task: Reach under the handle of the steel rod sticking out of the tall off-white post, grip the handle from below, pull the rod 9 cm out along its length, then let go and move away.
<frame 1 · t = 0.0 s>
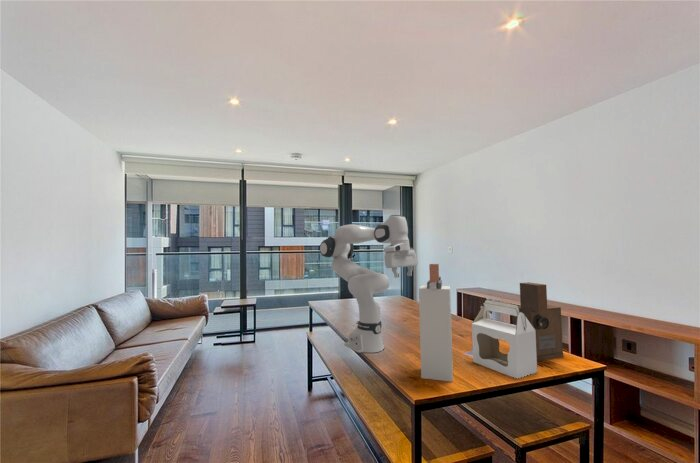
hand: (403, 276, 150), 39 cm above the table, tool pointing down, fingers open, 8 cm apart
rod: (434, 275, 133), point 41 cm above the table, slide at 0.0 cm
mobile phone: (479, 353, 156), on the table
vintage camera: (538, 357, 149), on the table
rod post: (437, 374, 130), on the table
gable box: (503, 367, 138), on the table
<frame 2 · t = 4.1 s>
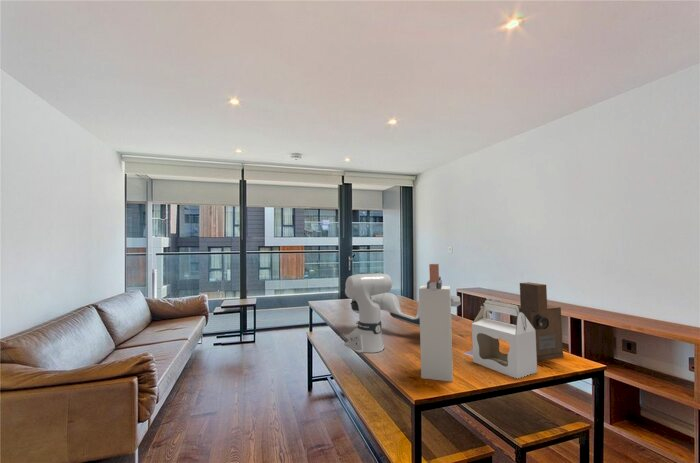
hand: (439, 295, 164), 27 cm above the table, tool pointing upward, fingers open, 8 cm apart
nothing on the table moved.
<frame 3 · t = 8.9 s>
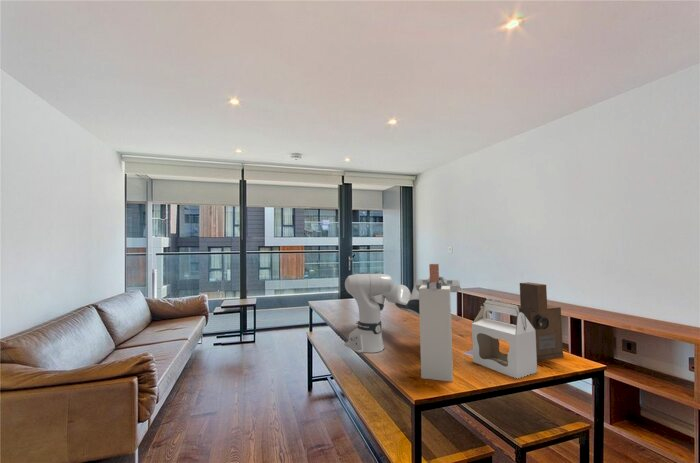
hand: (436, 278, 143), 38 cm above the table, tool pointing upward, fingers closed on rod, 4 cm apart
rod: (434, 275, 133), point 41 cm above the table, slide at 0.0 cm, touching gripper
everything else where it was.
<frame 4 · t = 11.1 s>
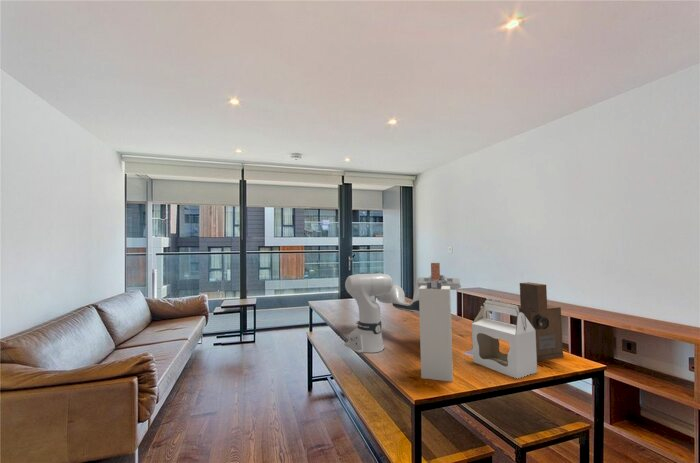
hand: (437, 276, 151), 39 cm above the table, tool pointing upward, fingers closed on rod, 4 cm apart
rod: (435, 273, 141), point 41 cm above the table, slide at 8.1 cm, touching gripper
everything else where it was.
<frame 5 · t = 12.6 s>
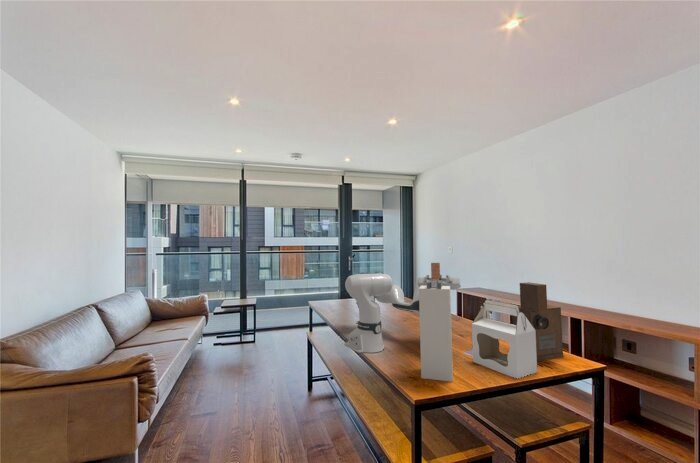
hand: (437, 276, 152), 38 cm above the table, tool pointing upward, fingers open, 8 cm apart
rod: (436, 273, 142), point 41 cm above the table, slide at 9.0 cm
everything else where it was.
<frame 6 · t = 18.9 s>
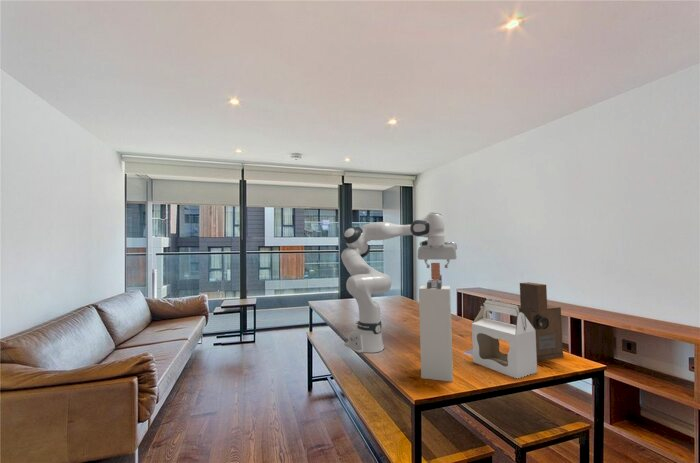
hand: (437, 268, 170), 41 cm above the table, tool pointing down, fingers open, 8 cm apart
at the end: rod slide at 9.0 cm; the gripper is holding nothing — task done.
